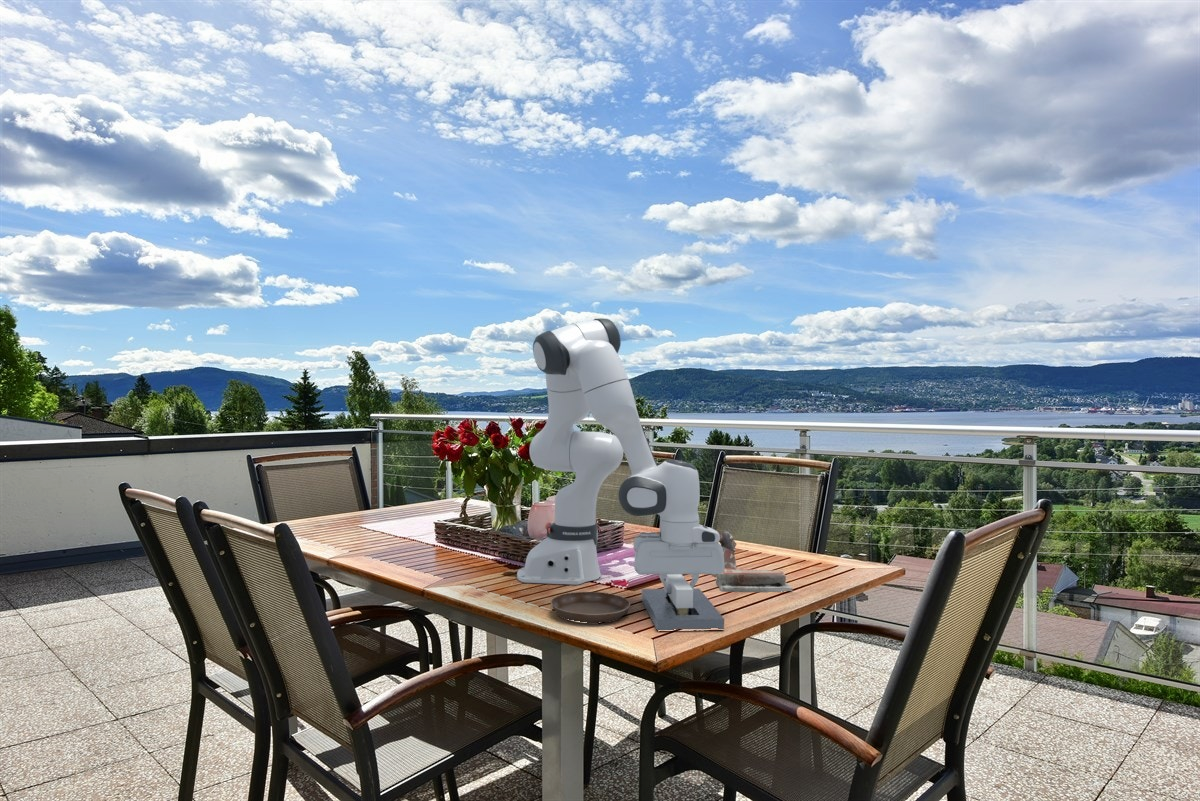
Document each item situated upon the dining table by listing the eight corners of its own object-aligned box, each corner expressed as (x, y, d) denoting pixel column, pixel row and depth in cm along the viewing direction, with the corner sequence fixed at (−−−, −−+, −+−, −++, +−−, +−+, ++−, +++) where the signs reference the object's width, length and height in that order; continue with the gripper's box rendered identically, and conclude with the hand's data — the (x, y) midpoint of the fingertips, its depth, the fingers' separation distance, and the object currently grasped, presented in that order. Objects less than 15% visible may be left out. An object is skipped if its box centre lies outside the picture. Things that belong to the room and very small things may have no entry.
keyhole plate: (723, 630, 153) (724, 618, 153) (657, 631, 152) (657, 619, 152) (699, 598, 177) (699, 588, 177) (641, 599, 176) (641, 589, 176)
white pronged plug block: (692, 621, 159) (693, 589, 159) (676, 622, 158) (676, 589, 158) (680, 603, 173) (681, 573, 173) (665, 603, 172) (665, 573, 172)
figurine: (737, 579, 196) (738, 534, 196) (710, 577, 198) (711, 533, 198) (737, 572, 203) (738, 529, 203) (711, 571, 205) (712, 528, 205)
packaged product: (721, 574, 183) (715, 565, 193) (720, 593, 183) (715, 583, 193) (793, 575, 183) (784, 566, 193) (793, 594, 183) (783, 584, 193)
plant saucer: (629, 604, 172) (629, 591, 172) (630, 628, 154) (630, 614, 154) (554, 603, 173) (554, 590, 173) (546, 627, 155) (546, 612, 155)
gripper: (635, 535, 161) (634, 597, 162) (726, 534, 163) (725, 596, 163) (632, 529, 168) (631, 589, 168) (720, 529, 169) (719, 589, 170)
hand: (678, 593), depth 166 cm, fingers closed on white pronged plug block, 4 cm apart
